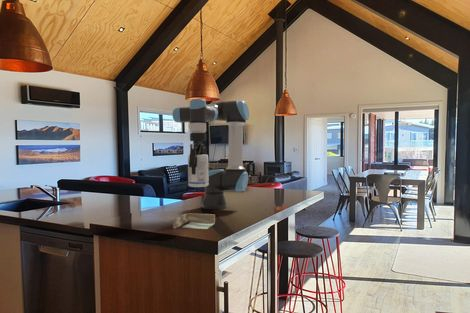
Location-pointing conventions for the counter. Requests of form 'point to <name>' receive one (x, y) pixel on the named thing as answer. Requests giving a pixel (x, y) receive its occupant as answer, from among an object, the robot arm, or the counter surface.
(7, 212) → the counter surface
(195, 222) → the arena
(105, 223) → the counter surface
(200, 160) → the supplement tub
